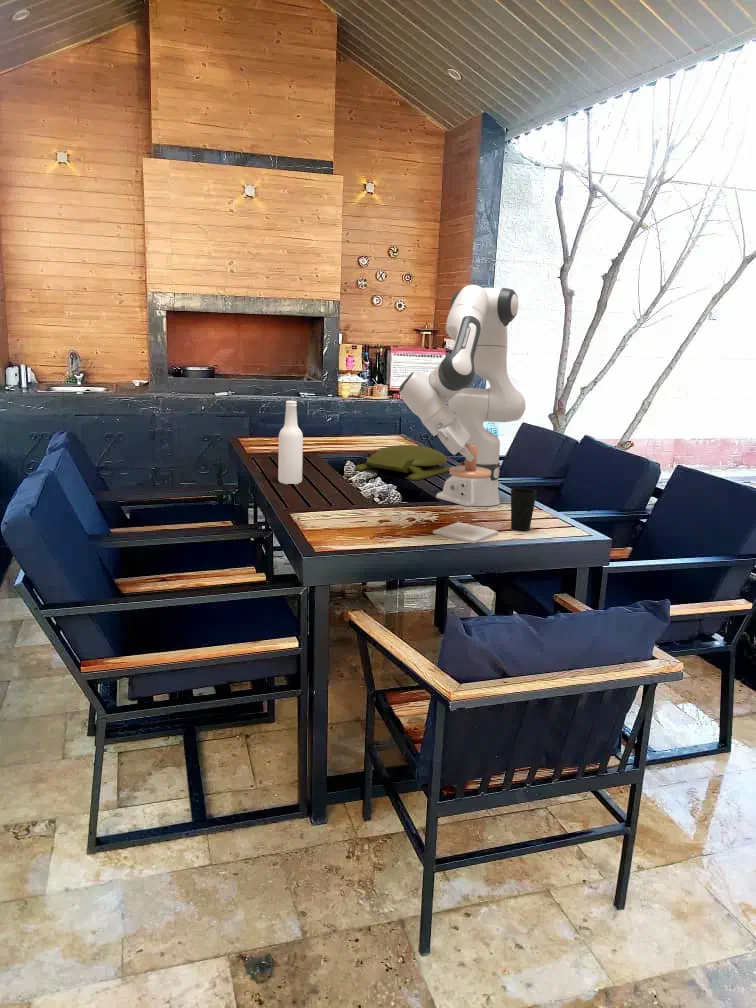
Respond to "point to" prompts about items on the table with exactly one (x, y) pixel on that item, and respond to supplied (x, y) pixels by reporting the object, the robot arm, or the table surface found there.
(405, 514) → the table surface
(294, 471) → the alcohol
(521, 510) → the cup
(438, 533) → the mat
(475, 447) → the lid
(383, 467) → the green turtle
